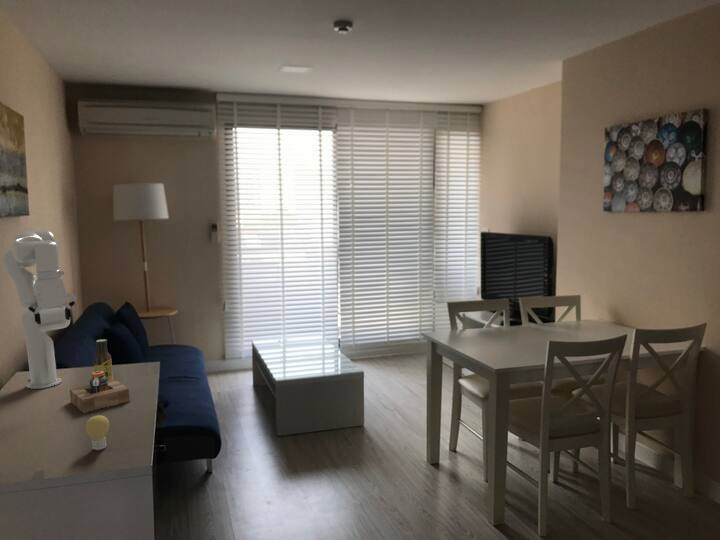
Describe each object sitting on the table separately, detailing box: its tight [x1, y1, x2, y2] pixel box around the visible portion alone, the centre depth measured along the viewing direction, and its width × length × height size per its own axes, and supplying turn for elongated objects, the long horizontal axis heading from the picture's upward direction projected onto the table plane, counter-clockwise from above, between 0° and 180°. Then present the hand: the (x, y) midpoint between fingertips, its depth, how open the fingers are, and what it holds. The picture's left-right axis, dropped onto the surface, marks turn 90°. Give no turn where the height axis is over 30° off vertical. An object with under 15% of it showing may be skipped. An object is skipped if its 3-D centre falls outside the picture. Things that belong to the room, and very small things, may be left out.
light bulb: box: [85, 414, 110, 451], centre depth 168 cm, size 6×6×10 cm
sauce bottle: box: [93, 338, 114, 381], centre depth 224 cm, size 6×6×20 cm
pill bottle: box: [89, 371, 108, 394], centre depth 210 cm, size 6×6×11 cm
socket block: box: [69, 378, 131, 414], centre depth 210 cm, size 16×16×5 cm
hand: (53, 321), depth 210 cm, fingers open, 9 cm apart
